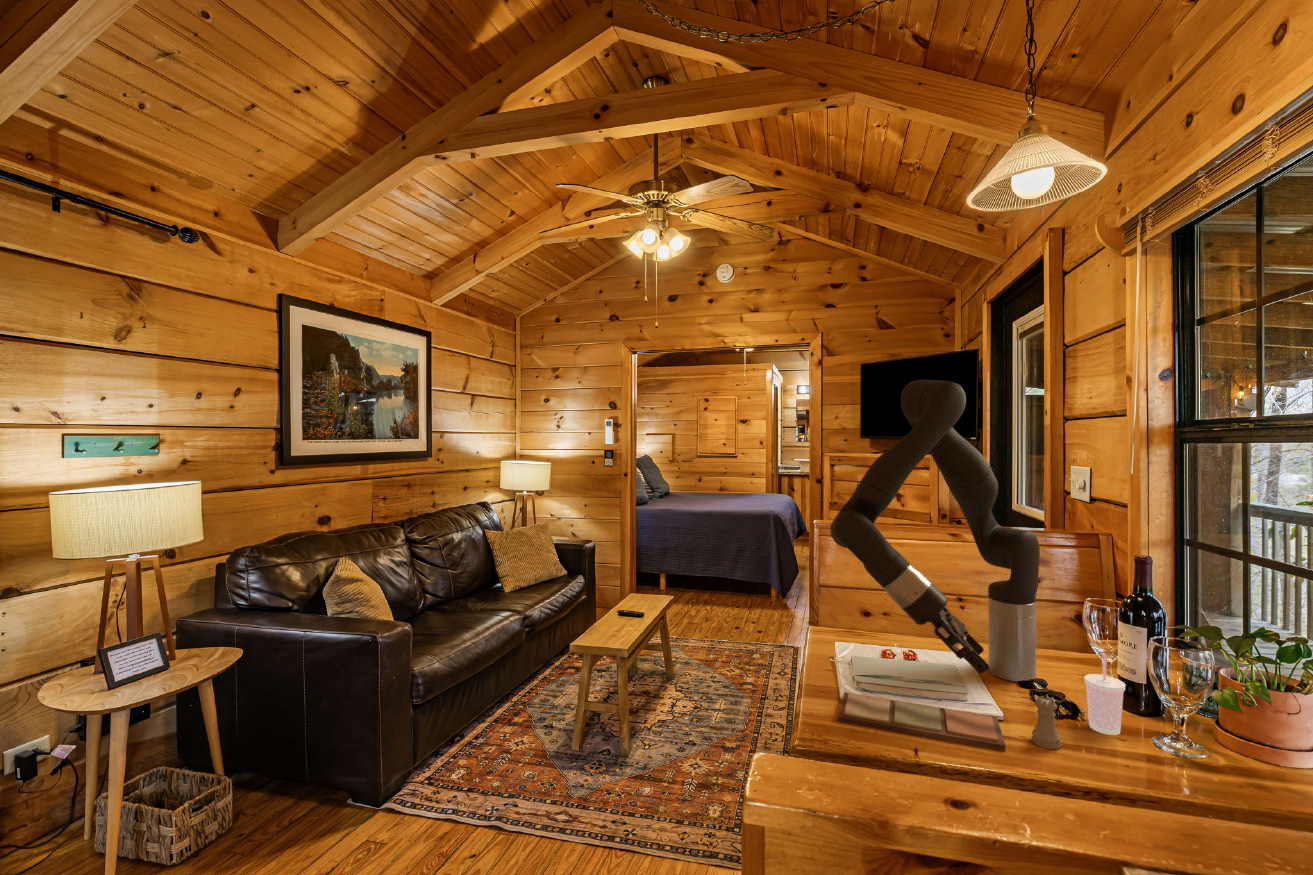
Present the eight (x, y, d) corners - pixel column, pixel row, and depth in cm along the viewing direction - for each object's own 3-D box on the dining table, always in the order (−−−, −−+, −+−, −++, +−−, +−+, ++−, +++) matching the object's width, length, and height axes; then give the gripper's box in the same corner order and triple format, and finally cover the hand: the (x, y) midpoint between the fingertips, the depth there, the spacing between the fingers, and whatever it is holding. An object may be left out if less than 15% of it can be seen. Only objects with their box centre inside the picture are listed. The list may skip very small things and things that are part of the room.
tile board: (844, 696, 123) (844, 690, 123) (996, 721, 112) (996, 714, 112) (838, 721, 113) (838, 714, 113) (1005, 751, 102) (1005, 743, 102)
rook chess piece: (1066, 751, 101) (1066, 706, 101) (1037, 749, 102) (1037, 704, 102) (1054, 738, 106) (1054, 694, 106) (1027, 736, 107) (1026, 692, 107)
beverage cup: (1083, 717, 113) (1083, 645, 113) (1124, 726, 110) (1124, 652, 109) (1084, 730, 108) (1084, 655, 108) (1126, 740, 105) (1126, 663, 104)
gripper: (930, 590, 105) (1004, 663, 100) (928, 572, 118) (994, 636, 113) (898, 616, 107) (970, 689, 102) (900, 595, 120) (963, 659, 115)
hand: (982, 661), depth 108 cm, fingers open, 8 cm apart
